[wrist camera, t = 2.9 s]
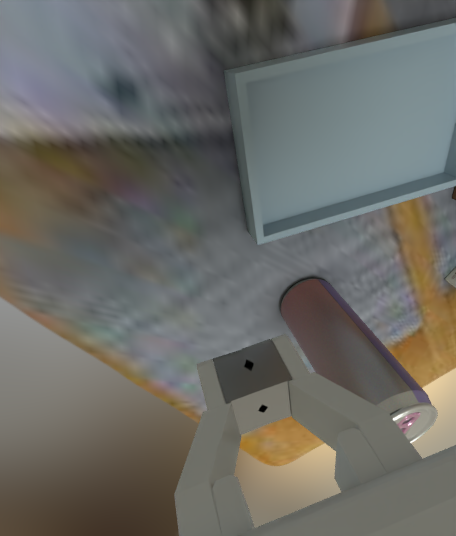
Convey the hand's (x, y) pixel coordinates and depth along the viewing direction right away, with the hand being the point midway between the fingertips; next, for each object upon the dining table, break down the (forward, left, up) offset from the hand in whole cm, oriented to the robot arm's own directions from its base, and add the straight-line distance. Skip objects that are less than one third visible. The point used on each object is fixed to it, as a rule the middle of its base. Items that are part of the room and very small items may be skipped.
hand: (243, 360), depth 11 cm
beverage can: (+16, +10, -17) cm, 25 cm away
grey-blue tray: (0, +15, -17) cm, 22 cm away
